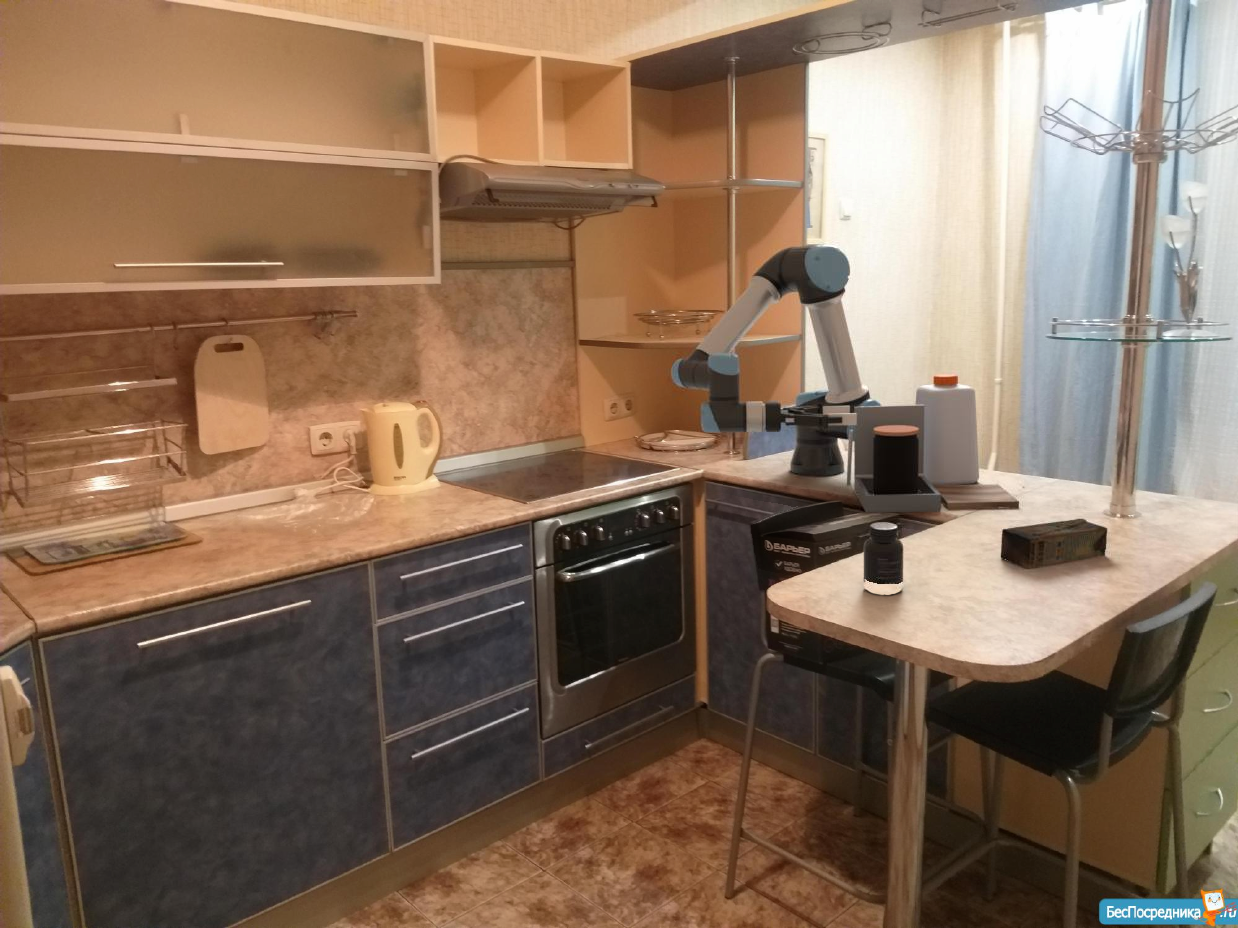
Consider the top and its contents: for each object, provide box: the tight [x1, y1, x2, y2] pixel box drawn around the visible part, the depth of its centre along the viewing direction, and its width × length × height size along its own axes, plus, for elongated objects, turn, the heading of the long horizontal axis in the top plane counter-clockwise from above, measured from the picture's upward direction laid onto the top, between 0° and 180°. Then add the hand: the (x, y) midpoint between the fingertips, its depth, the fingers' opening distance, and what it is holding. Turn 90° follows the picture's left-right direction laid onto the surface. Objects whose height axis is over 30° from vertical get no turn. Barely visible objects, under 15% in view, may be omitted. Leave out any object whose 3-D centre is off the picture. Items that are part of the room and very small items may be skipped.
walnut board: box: [934, 483, 1020, 510], centre depth 227 cm, size 18×16×2 cm
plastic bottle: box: [914, 373, 980, 486], centre depth 246 cm, size 15×15×28 cm
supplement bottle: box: [863, 521, 904, 584], centre depth 166 cm, size 7×7×12 cm
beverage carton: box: [1000, 518, 1108, 569], centre depth 180 cm, size 8×19×7 cm, turn 109°
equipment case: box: [846, 404, 942, 513], centre depth 230 cm, size 28×18×22 cm
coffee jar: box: [872, 425, 919, 495], centre depth 228 cm, size 11×11×18 cm
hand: (853, 415), depth 226 cm, fingers open, 13 cm apart
